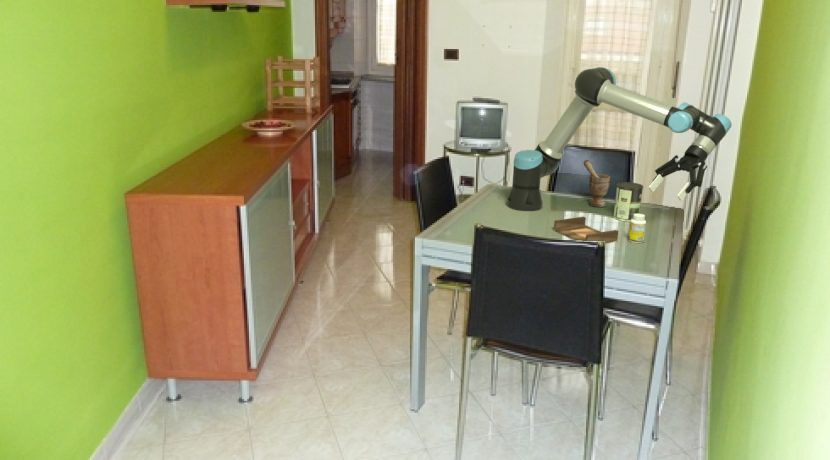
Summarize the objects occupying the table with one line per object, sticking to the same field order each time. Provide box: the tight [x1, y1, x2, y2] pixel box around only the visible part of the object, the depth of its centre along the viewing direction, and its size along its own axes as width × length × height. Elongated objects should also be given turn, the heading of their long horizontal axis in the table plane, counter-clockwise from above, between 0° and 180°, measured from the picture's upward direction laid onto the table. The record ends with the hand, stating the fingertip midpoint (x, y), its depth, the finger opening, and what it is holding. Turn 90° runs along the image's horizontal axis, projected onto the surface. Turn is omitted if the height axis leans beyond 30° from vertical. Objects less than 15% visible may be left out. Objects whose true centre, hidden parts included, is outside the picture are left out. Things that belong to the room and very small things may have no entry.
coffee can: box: [612, 181, 644, 223], centre depth 271 cm, size 10×10×14 cm
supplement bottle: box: [627, 213, 647, 244], centre depth 244 cm, size 6×6×10 cm
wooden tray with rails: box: [553, 216, 619, 244], centre depth 249 cm, size 20×14×4 cm
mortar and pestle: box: [583, 159, 611, 208], centre depth 287 cm, size 12×9×20 cm
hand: (664, 194), depth 245 cm, fingers open, 13 cm apart
